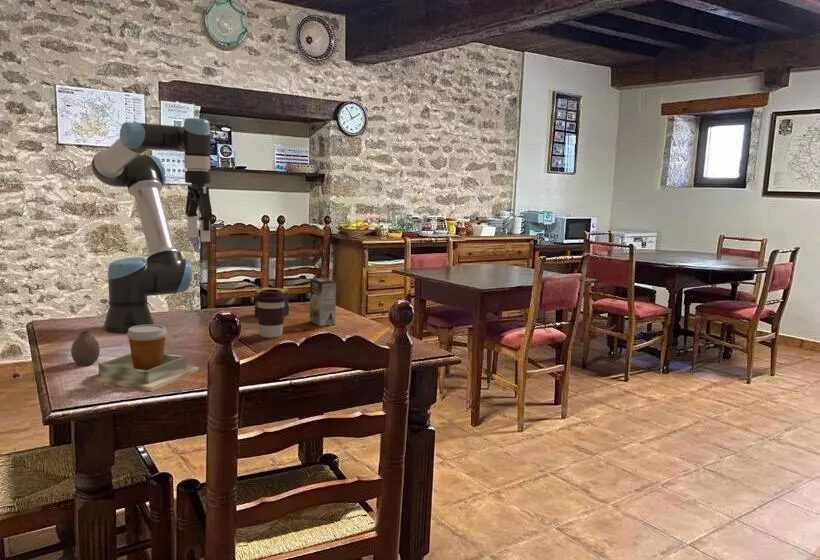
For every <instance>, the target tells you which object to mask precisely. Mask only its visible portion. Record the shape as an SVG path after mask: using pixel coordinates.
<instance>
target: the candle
mask: <svg viewBox="0 0 820 560" xmlns="http://www.w3.org/2000/svg"><path fill="white" fill-rule="evenodd" d="M266 289H276V290H281V291H282V294H284V295H286V301H284V306H285V311H284V318H285V317H286V316H289V313H290V312H289V310H290V306H289V298H290V297H289V291H290V290H289V289H288V288H278V287H263V288H261V289H259V290H256V291H255V294H254V295H255V296H256V295H258V294H259V293H260V291H261V290H266ZM255 296H254V297H255ZM254 303H255V304H254V317H255V318H256V319H258V313H257V306H258V303H257V301H256V300H255V302H254Z"/></svg>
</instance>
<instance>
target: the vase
mask: <svg viewBox="0 0 820 560" xmlns="http://www.w3.org/2000/svg"><path fill="white" fill-rule="evenodd" d="M100 351H101V349H100V344H99V342H98V340H97V339H96V338H95V337H94V336H93V335H92V334H91V332H90V330H89V331H88V330H83V331H80V332H79V334H78V335H77V337H76V338H75V339H74V341H73V343H72V344H71V349H70V354H71V358H72V360H73V361H74V363H75V364H77V365H79V366H91V365H94V364H95V363H96V362H97V361H98V359H99V357H100Z"/></svg>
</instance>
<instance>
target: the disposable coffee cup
mask: <svg viewBox="0 0 820 560" xmlns="http://www.w3.org/2000/svg"><path fill="white" fill-rule="evenodd" d="M167 335H168V331H167V330H166V326H164V325H162V324H154V325H138V326H133V327H131V328H129V329H128V333H126V336H127V339H128V342H129V349H130V353H131V355H132V361H133V366H134V369H140V370H146V371H147V370H149V369H152V368H154V367H157V366H160V365H162V363H163V353H164V351H165V344H166V343H165V342H166V337H167Z"/></svg>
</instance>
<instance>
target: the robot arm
mask: <svg viewBox="0 0 820 560" xmlns="http://www.w3.org/2000/svg"><path fill="white" fill-rule="evenodd" d="M210 125H211V124H210V121H209V120H207V119H205V118H204V119H203V118H190V117H189V118H185V119H184V120H183V126H180V125H179V126H178V125H166V124H155V123H145V122H137V121H133V122H131V121H130V122H129V121H126V122H123V123H122V124H121V126H120V127H121V128H120V130H119V138H118V139H117V140H116V141H115V142H114V143H111V145H110V146H109V147H108V148H107V149H102V150H100V151H98V152H97V153H96V154H95V155H94V156H93V157H92V161H91V171H92V173H93V175H94V176H95V178H96V179H98V180H99V181H100V182H101V183H103V184H105V185H107V186H110V187H111V186H112V187H118V188H121V187H123V188H127V191H128V192H127V193H128V194H129V195H130V196H131V197H134V200H135V204H136V209H137V212H138V216H139V220H140V224H141V226H142V231H143V235H144V239H145V243H146V247H147V250H148V254H149V255H148V256H147V257H146V258H145V257H142V256H139V257H137V256H136V257H125V258H121V259H117V260H114V261H112V262H110V263H109V265H108V268H107V269H108V270H107V282H108V303H109V305H108V310H107V312H106V313H107V314H106V318H105V321H104V323H103V328H104V329H103V330H104V331H105V332H107V333H111V334H120V335H121V334H127V333H128V329H129V328H131V327H133V326H138V325H155V324H154V318H152V314H151V311H150V309H149V305H148V297H151V296H159V295H161V296H162V295H176V294H180V293H185V292H187V290H189V288H190V286H191V284H192V280H193V267H192V263H191V261H190V260H189V259H187V258H183V256H182V252H181V251H179V250H177V249H176V248H175V244H174V239H173V237H172V233H171V229H170V225H169V223H168V219H167V215H166V211H165V207H164V204H163V201H162V197H161V193H160V192H161V191H162V190H163V187H164V185H165V183H166V169H165V166H164V164H163V162H162V160H161V159H160V158H159V157H157V156H155V155H150V154H149V155H148V154H147V153H146V154H143V153H145V152H146V151H147V150H160V151H162V150H163V151H175V152H182V153H183V152H184V156H183V157H184V160H183V161H184V169H186V170H185V171H184V183H187V184H190V185H188V186H187V195H186V196H187V197H186V202H185V203H186V204H185V211H184V213H185V215H186V216H187V238H197V237H198V220H199V222H200V223H199V224H200V225H199V226H200V231H199V232H200V242H204V243H205V242H208V243H209V242H211V219H213V217H214V216H213V210H212V203H211V199H210V198H211V197H210V189H209V187H208V186H206V184H211V179H212V177H211V174H212V173H211V172H210V171H209V170H211V164H212V162H213V160H211V133H212V132H211V126H210ZM197 210H199V214H200V216H198V213H197ZM197 217H199V219H198V218H197Z"/></svg>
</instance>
